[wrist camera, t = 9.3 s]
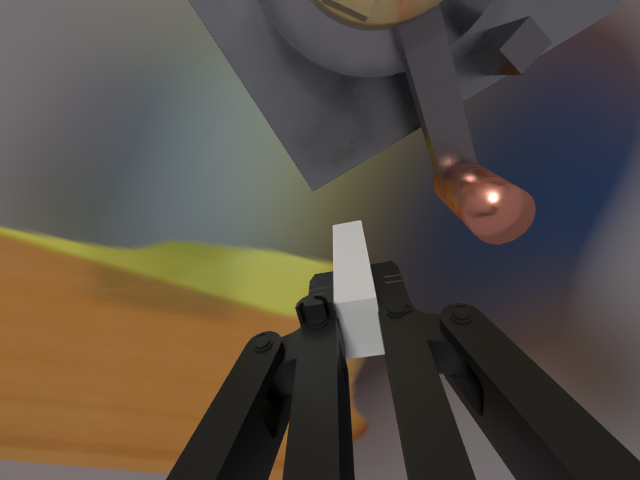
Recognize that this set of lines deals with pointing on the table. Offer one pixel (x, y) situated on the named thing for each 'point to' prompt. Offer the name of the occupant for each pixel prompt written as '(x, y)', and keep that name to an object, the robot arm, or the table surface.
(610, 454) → the robot arm
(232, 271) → the table surface
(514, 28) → the housing
